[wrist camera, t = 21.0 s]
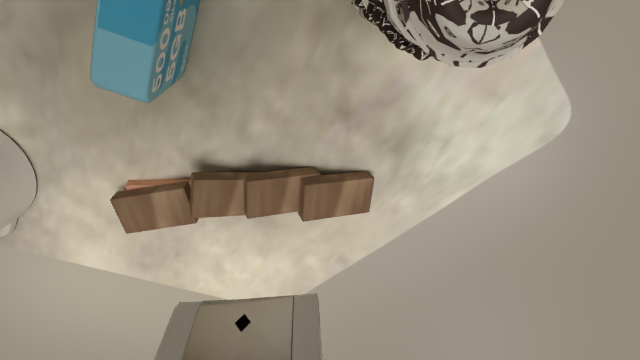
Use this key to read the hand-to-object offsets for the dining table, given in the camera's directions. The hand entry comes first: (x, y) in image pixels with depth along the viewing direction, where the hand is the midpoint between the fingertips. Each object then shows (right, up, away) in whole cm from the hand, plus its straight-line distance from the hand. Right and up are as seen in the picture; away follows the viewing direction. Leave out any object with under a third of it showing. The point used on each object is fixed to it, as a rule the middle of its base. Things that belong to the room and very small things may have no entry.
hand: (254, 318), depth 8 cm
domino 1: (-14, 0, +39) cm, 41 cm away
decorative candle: (+8, +23, +30) cm, 39 cm away
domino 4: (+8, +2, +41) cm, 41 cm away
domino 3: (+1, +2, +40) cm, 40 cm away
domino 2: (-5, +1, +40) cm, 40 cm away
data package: (-14, +20, +31) cm, 40 cm away
